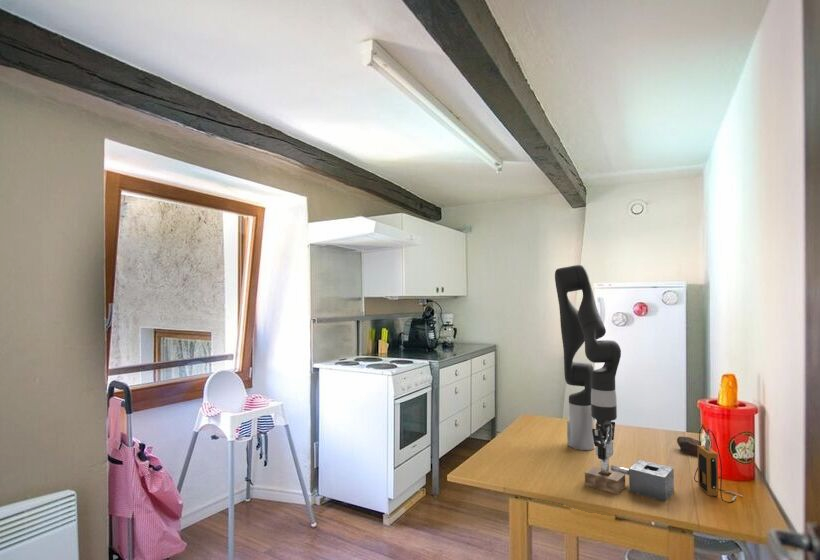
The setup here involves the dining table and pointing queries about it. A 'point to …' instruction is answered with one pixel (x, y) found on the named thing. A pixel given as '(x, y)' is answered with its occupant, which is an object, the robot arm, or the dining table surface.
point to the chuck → (649, 479)
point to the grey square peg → (606, 462)
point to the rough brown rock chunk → (688, 445)
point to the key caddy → (605, 480)
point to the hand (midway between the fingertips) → (604, 456)
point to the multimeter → (709, 469)
